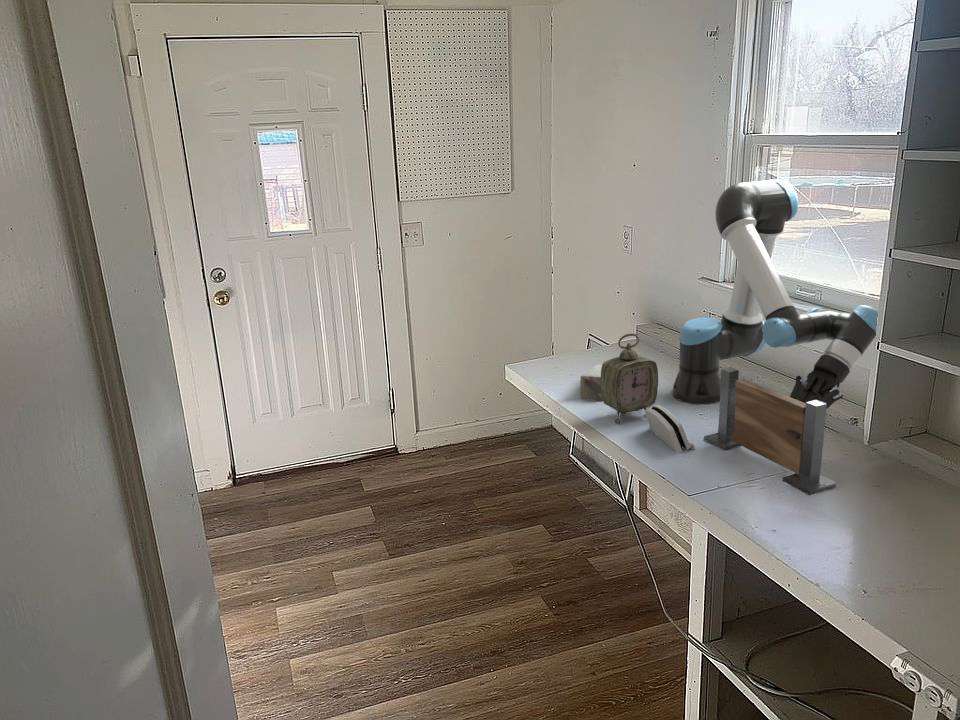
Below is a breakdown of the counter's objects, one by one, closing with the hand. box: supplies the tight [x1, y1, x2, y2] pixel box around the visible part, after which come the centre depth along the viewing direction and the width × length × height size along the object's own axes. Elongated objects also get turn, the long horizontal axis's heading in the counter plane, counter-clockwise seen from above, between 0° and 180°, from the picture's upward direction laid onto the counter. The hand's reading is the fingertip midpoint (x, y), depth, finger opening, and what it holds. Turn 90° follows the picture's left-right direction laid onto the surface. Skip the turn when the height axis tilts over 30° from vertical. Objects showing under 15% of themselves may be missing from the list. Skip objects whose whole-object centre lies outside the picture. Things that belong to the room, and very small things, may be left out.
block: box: [579, 363, 603, 402], centre depth 236 cm, size 19×8×8 cm, turn 157°
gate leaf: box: [734, 378, 806, 475], centre depth 180 cm, size 3×22×17 cm, turn 24°
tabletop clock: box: [600, 333, 659, 425], centre depth 212 cm, size 14×9×25 cm, turn 115°
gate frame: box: [703, 366, 837, 496], centre depth 181 cm, size 8×36×20 cm, turn 24°
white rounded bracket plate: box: [644, 404, 697, 454], centre depth 198 cm, size 17×5×10 cm, turn 13°
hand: (780, 439), depth 182 cm, fingers closed
